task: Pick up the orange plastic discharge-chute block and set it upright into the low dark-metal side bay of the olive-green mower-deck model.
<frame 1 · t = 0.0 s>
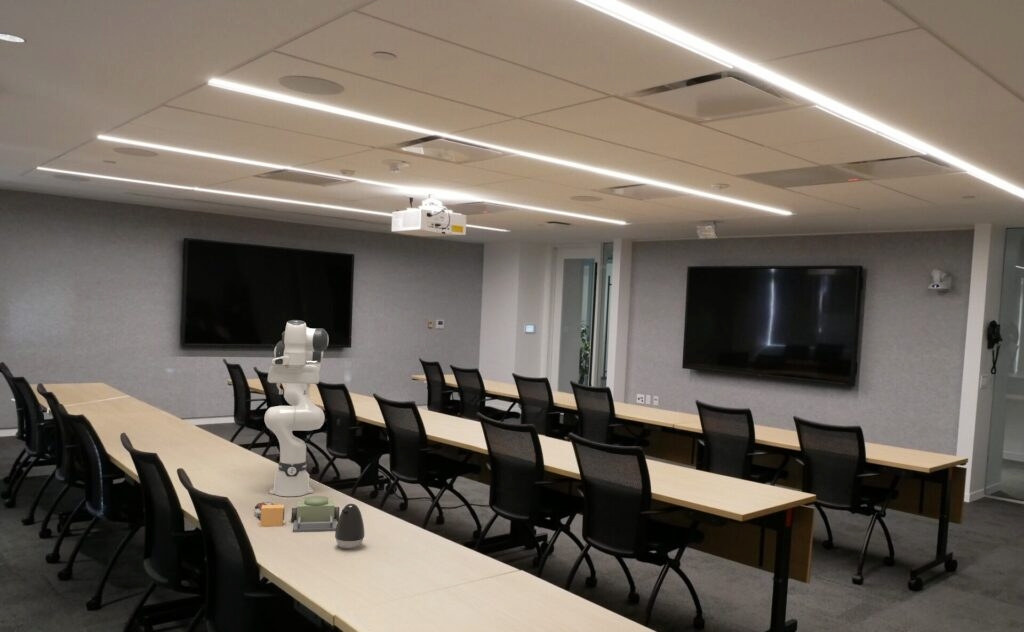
hand: (293, 394, 293), 48 cm above the table, fingers open, 8 cm apart
pump dispenser: (349, 547, 255), on the table
discharge chute: (271, 524, 276), on the table
walkie-talkie: (266, 516, 288), on the table
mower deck: (315, 524, 280), on the table
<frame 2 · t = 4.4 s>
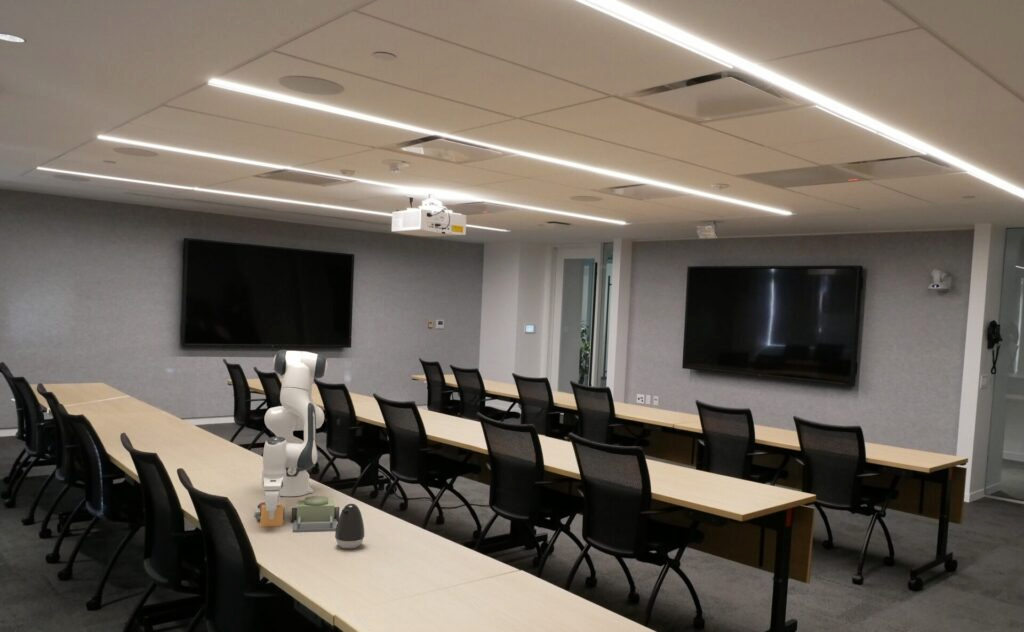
hand: (272, 516, 276), 3 cm above the table, fingers closed on discharge chute, 4 cm apart
discharge chute: (271, 524, 276), on the table, touching gripper
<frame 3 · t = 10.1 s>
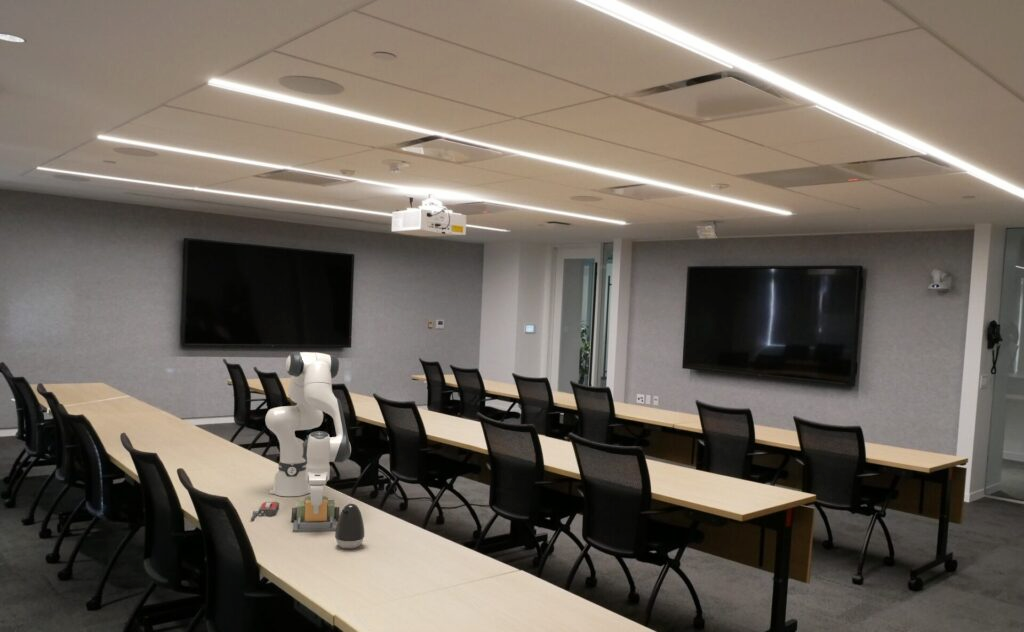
hand: (316, 511, 275), 6 cm above the table, fingers closed on discharge chute, 4 cm apart
discharge chute: (315, 519, 275), point 3 cm above the table, touching gripper
when the fingers open (6 cm above the table, at t = 11.2 s): discharge chute drops 1 cm, resting on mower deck.
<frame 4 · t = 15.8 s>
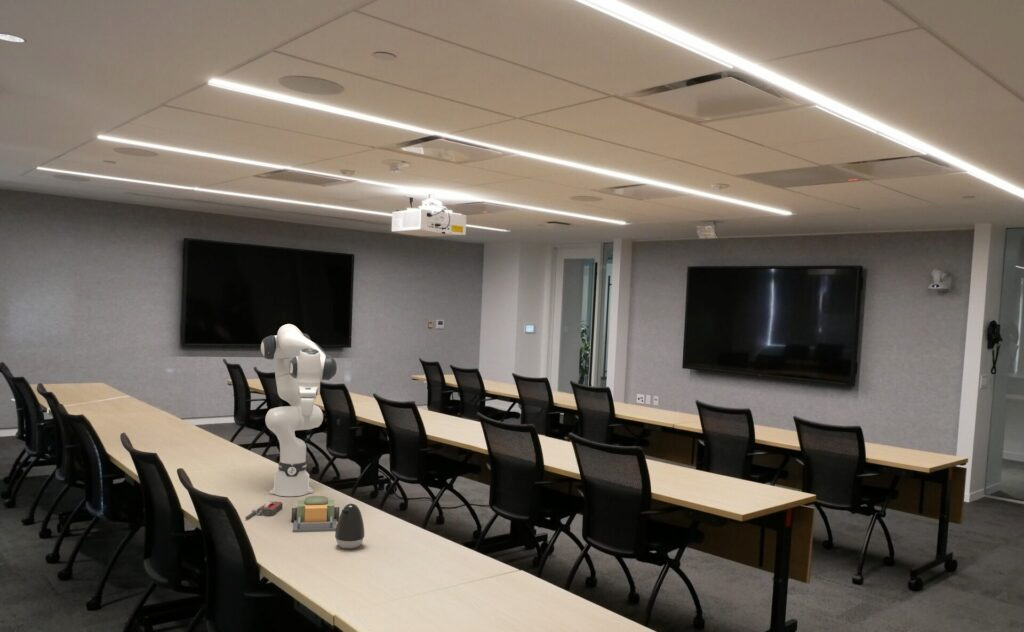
hand: (306, 424, 286), 37 cm above the table, fingers open, 8 cm apart
discharge chute: (315, 525, 275), point 1 cm above the table, touching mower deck
at the end: discharge chute 0.6 cm from the target spot on the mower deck, point 1.0 cm above the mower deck's base; discharge chute tilted 0°; the gripper is holding nothing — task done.
